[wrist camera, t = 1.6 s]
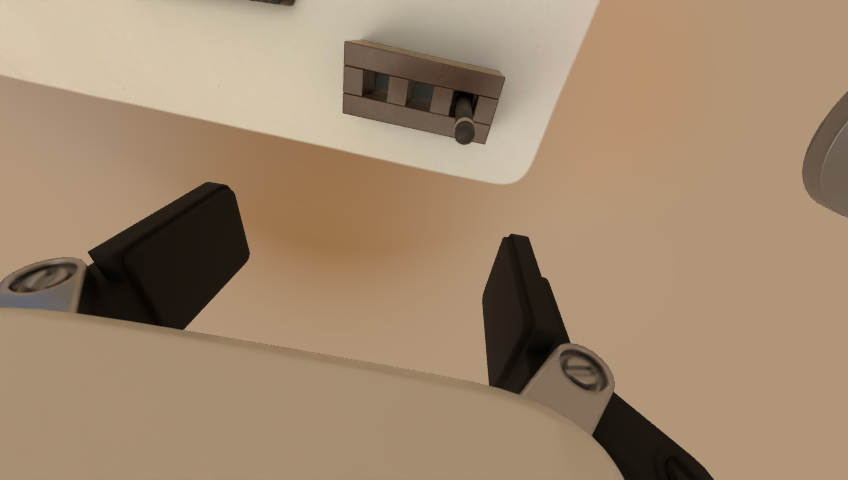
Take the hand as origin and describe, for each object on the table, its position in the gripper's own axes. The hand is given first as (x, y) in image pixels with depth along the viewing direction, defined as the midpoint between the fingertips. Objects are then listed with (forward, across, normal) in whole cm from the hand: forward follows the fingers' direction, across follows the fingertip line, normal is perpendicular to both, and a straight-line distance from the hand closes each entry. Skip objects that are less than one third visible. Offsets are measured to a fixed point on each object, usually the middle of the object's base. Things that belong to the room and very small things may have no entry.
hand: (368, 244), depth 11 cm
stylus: (+22, -3, -2) cm, 23 cm away
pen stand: (+22, 0, -2) cm, 22 cm away
